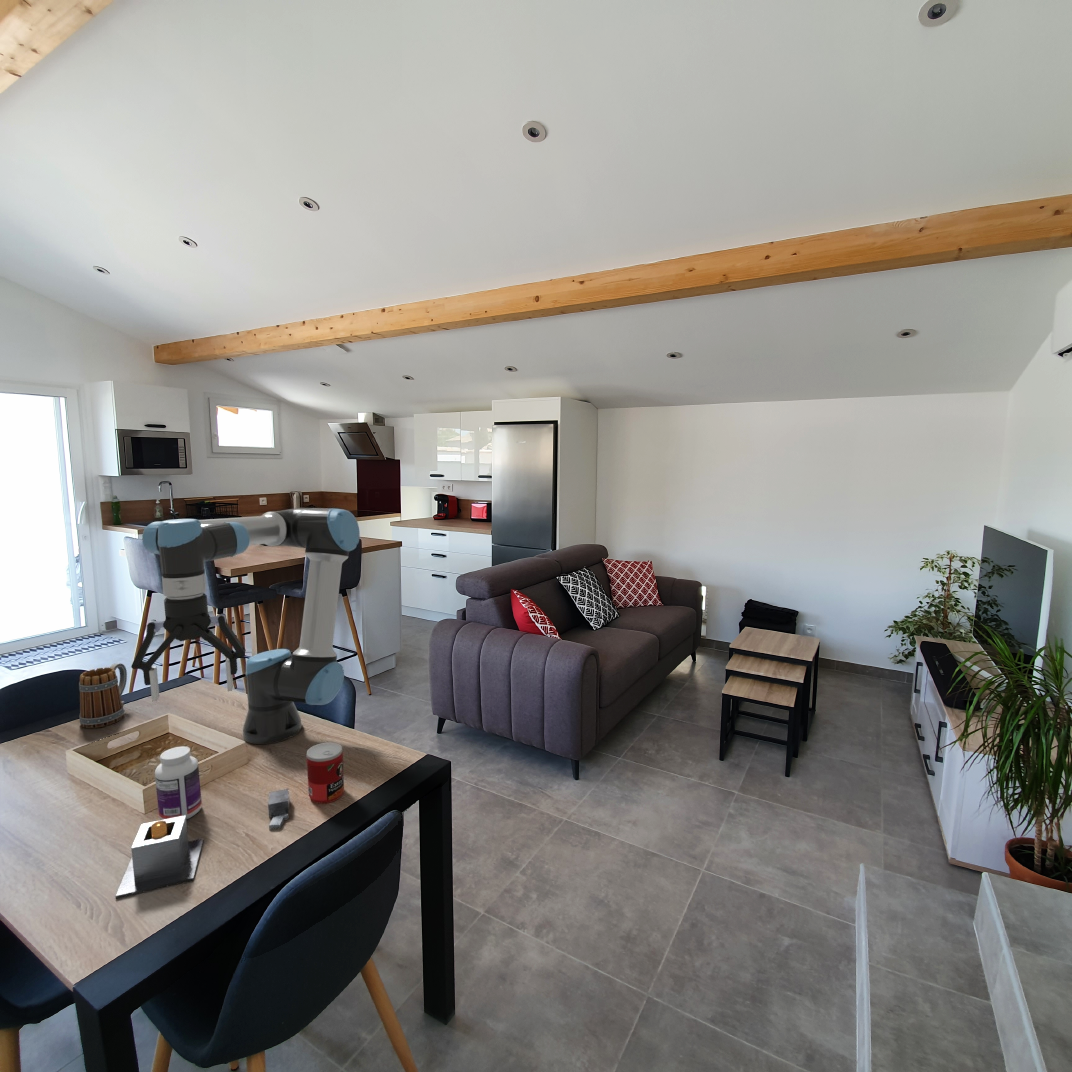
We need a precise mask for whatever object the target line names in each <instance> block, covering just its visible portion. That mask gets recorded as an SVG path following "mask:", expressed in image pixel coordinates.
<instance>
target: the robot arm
mask: <svg viewBox="0 0 1072 1072" xmlns="http://www.w3.org/2000/svg"><path fill="white" fill-rule="evenodd" d="M360 536H361V535H360V527H359V523H358V521H357V519H356V517H355V515H354V514H353V513H352V512H351V511H349V510H346V509H342V508H334V507H332V508H331V507H330V508H329V507H327V508H324V507H323V508H321V507H297V508H295V507H294V508H289V509H283V510H277V511H267V512H265V513H262V515H259V516H257V515H256V516H245V517H243V516H242V517H228V518H214V519H213V518H210V519H198V518H197V519H196V518H178V519H167V520H162V521H154V522H153V521H152V522H151V523H149V524H148V525H146V526H145V528H144V529H143V532H142V536H141V537H142V538H141V540H142V544H143V546H144V549H146V550H147V552H149V553H151V554H154V555H159V562H160V570H161V583H162V593H163V594H162V595H163V596H164V597H165V599H164V600H163V605H164V615H165V616H164V617H165V619H164V621H159V620H156V619H151V620H150V621H148V623H147V624H146V635H145V636H144V639H143V640H142V643H141V645H140V647H139V648H138V651H137V653H136V655H135V657H134V660H133V661H132V663H131V666H130V667H131V669H133V670H141V671H142V672H143V673H142V674H143V682H144V685H145V686H150V692H151V693H150V695H151V701H152V702H154V703H155V702H157V701H158V700H159V698H160V688H159V687H160V686H159V678H158V677H159V676H158V667H157V666H156V665H155V666H153V665H154V664H155V663H156V662H157V660H159V658H160V657H161V656H162V654H163V653H164V652H165V651H166V650H167V649H168V648H169V646H170V645H171V644H172V643H173V642H174V640H177V641H179V642H185V641H188V640H191V641H196V640H198V639H200V638H201V639H202V640H204V641H206V642H208V643H209V644H210V645H211V646H212V647H213V648H215V649H216V650H217V651H218V652H219V653H220V654H222V655H223V656H224V657H225V658H226V660H225V662H224V663H225V672H226V673H225V674H226V687H227V692H232V691H233V687H234V679H233V676H234V675H236V674H237V673H238V659H239V658H242V657H244V656H245V654H246V652H247V651H246V650H247V649H246V648H245V646H244V645H243V644H242V642H241V640H240V639H239V638H238V636H237V635H236V633H235V632H234V630H233V629H232V628H231V626H230V625H229V623H228V620H227V616H226V614H225V613H224V612H223V613H220V614H219V615H215V616H210V614H209V609H208V608H209V606H208V595H207V594H206V591H207V585H206V584H207V583H206V582H207V581H206V570H205V563H206V562H210V561H216V560H221V559H224V558H225V559H226V558H229V557H230V558H233V557H235V556H238V555H240V554H243V553H244V552H246V551H247V550H248V548H249V547H250V546H257V545H266V546H268V547H276V546H280V547H282V546H283V547H291V548H292V547H293V548H301V549H305V550H304V555H305V556H306V557H307V558H308V559H309V565H308V566H309V567H308V573H307V582H306V583H307V584H306V590H305V598H304V605H303V615H302V621H301V622H302V623H301V632H300V641H299V647H297V649H296V650H294V651H293V652H291V651H290V649H287V648H278V649H271V650H267V651H262V652H259V653H256V654H255V655H252V656H251V657H249V658H248V659H247V660H246V663H245V684H246V685H245V686H246V696H247V708H248V709H247V713H246V717H245V719H244V722H243V723H244V724H243V727H242V735H243V736H242V737H243V740H244V741H245V742H247V743H249V744H254V745H267V744H268V745H269V744H275V743H279V742H282V741H285V740H288V739H290V738H292V737H294V736H296V735H297V734H298V733H299V732H300V731H301V729H302V718H301V715H300V714H299V712H298V709H297V707H296V704H295V703H301V704H307V705H309V706H313V705H314V706H315V705H317V706H323V705H327V704H329V703H331V702H332V701H333V700H334V699H335V698H336V696H337V695H338V693H340V690H341V688H342V685H343V683H344V679H345V678H344V677H345V671H344V666H343V665H342V664H341V663H339V661H337V659H338V653H337V652H336V651H335V650H334V648H333V646H334V645H333V644H334V637H335V628H336V619H337V611H338V610H337V609H338V600H339V594H340V585H341V584H340V583H341V575H342V567H343V563H344V562H345V561H346V560H347V559H348V558H349V554H350V552H351V551H354V550H355V549H357V545H358V544H359V542H360ZM211 623H213V624H214V625H215V626H216V627H219V629H220V630H221V632H222V634H223V635H224V637H225V639H227V641H228V642H229V644H230V645H231V647H232V648H233V649H232V648H231V647H230V646H229V645H227V644H226V643H225V642H224V641H223V640H221V638H219V637H218V636H217V635H216V634H214V632H213V631H212V630H211V629H210V628H209V626H210V625H211ZM162 628H163V629H164V630H165V631H166V632H167V633H168V635H167V637H166V638H165V639H164V641H163V642H162V643H161V644H160V645H159V646H158V647H157V649H156V650H155V651H154V652H153V653H152V655H151V656H150V657H149V658H148V659H147V660H146V661H144V658H145V656H146V655H147V652H148V650H149V648H150V646H151V644H152V642H153V639H154V638H155V636H156V633H159V632H160V630H161V629H162Z"/></svg>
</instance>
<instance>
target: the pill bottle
mask: <svg viewBox="0 0 1072 1072" xmlns="http://www.w3.org/2000/svg"><path fill="white" fill-rule="evenodd" d="M159 757H160V758H159V759H160V763H159V764H158V765H157V767H156V768H155V771H154V779H155V789H156V799H157V808H158V809H157V810H158V817H159V819H160V820H164V819H169V818H174V817H179V816H184V815H186V820H188V819H191V818H192V817H194V816H195V815H196V814H197V813H199V812H200V811H201V808H202V804H203V802H202V801H203V800H202V791H201V781H200V779H201V778H200V767H199V761H198V758H195V757H194V756H192V755H191V748H190V747H189V746H175V747H172V748H169V749H166V750H165V751H162V753H161V754H160V756H159Z"/></svg>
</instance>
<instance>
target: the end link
mask: <svg viewBox="0 0 1072 1072" xmlns="http://www.w3.org/2000/svg"><path fill="white" fill-rule="evenodd" d="M158 821H166V825H167V836H165V837H160V838H155V839H152V831H151V826H152V824H154V823H155V822H158ZM187 825H188V824H187V819H186V815H184V816H179V817H174V818H169V819H164V820H161V819H160V820H156V821H150V822H145V823H141V825H140V826H139V829H138V832H137V834H136V836H135V839H134V840H133V843H132V846H131V847H130V849H131V851H130V852H131V858H132V861H133V871H134V881H135V883H137V882H142V881H146V880H151V879H155V878H159V877H164V876H168V875H172V874H177V873H181V872H182V869H183V866H184V862H185V859H186V855H187V852H188V848H189V846H188V841H189V837H188V828H187V827H188V826H187Z"/></svg>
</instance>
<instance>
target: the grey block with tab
mask: <svg viewBox="0 0 1072 1072" xmlns="http://www.w3.org/2000/svg"><path fill="white" fill-rule="evenodd" d="M267 807H268V818H272V819H271V820H270V823H269V825H268V828H269V829H268V830H281V828H282V826H283V825H284V822H285V821H287V820H289V814H290V789H289V788H283V789H279V790H274V791H269V793H268V803H267Z"/></svg>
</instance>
